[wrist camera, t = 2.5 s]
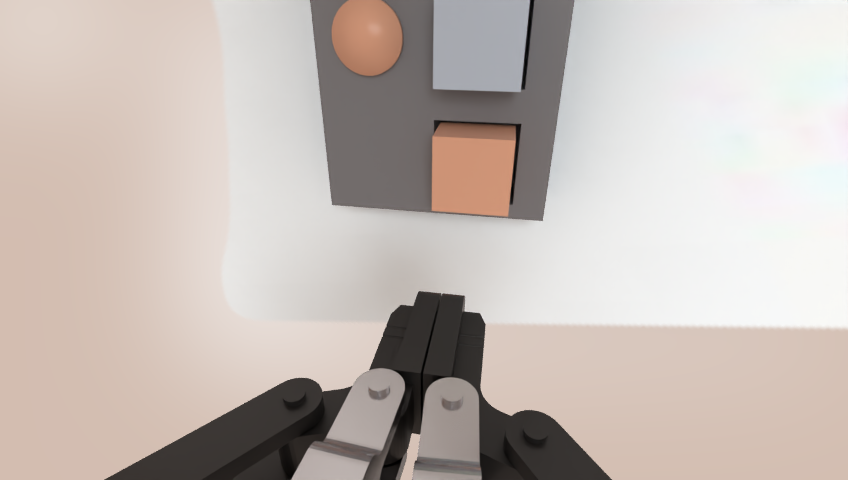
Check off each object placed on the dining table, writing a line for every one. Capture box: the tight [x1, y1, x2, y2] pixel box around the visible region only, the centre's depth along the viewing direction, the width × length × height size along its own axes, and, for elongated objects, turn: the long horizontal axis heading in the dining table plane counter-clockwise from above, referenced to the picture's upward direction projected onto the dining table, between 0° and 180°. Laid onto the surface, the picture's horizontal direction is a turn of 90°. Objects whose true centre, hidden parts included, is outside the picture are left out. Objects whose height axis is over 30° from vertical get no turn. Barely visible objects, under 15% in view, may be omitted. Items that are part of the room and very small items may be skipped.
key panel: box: [310, 0, 574, 221], centre depth 26 cm, size 21×14×4 cm, turn 0°
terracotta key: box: [432, 122, 516, 217], centre depth 27 cm, size 4×4×3 cm
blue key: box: [433, 0, 530, 92], centre depth 23 cm, size 4×4×3 cm
